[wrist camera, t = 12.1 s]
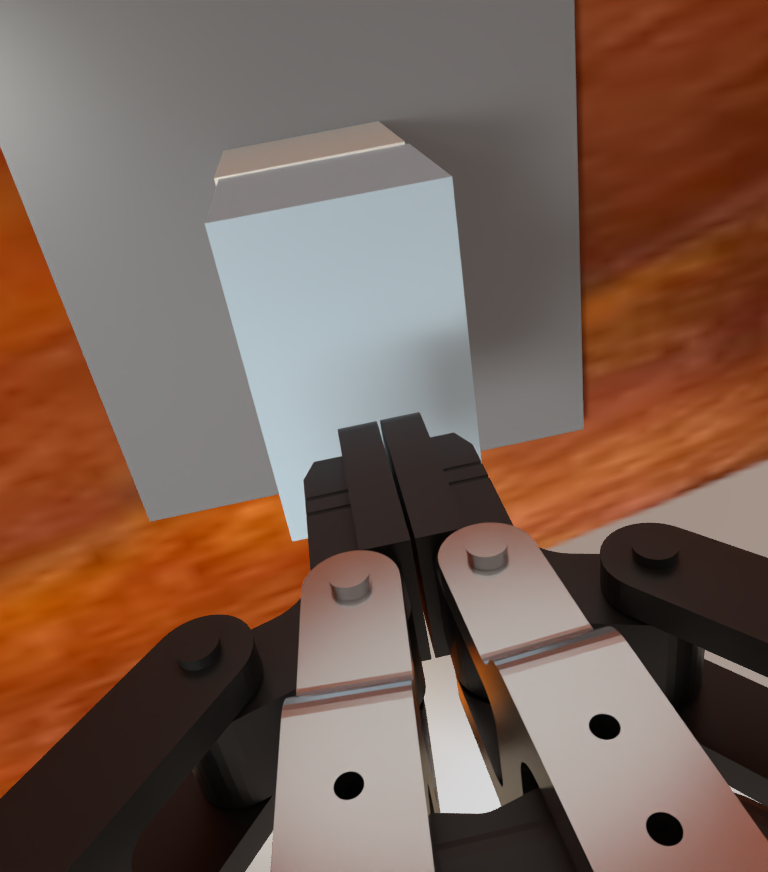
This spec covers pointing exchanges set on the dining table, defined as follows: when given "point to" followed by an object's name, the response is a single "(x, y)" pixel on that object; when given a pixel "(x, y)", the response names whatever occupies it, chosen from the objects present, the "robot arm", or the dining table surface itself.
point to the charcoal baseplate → (270, 121)
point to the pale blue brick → (344, 303)
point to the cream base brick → (305, 149)
